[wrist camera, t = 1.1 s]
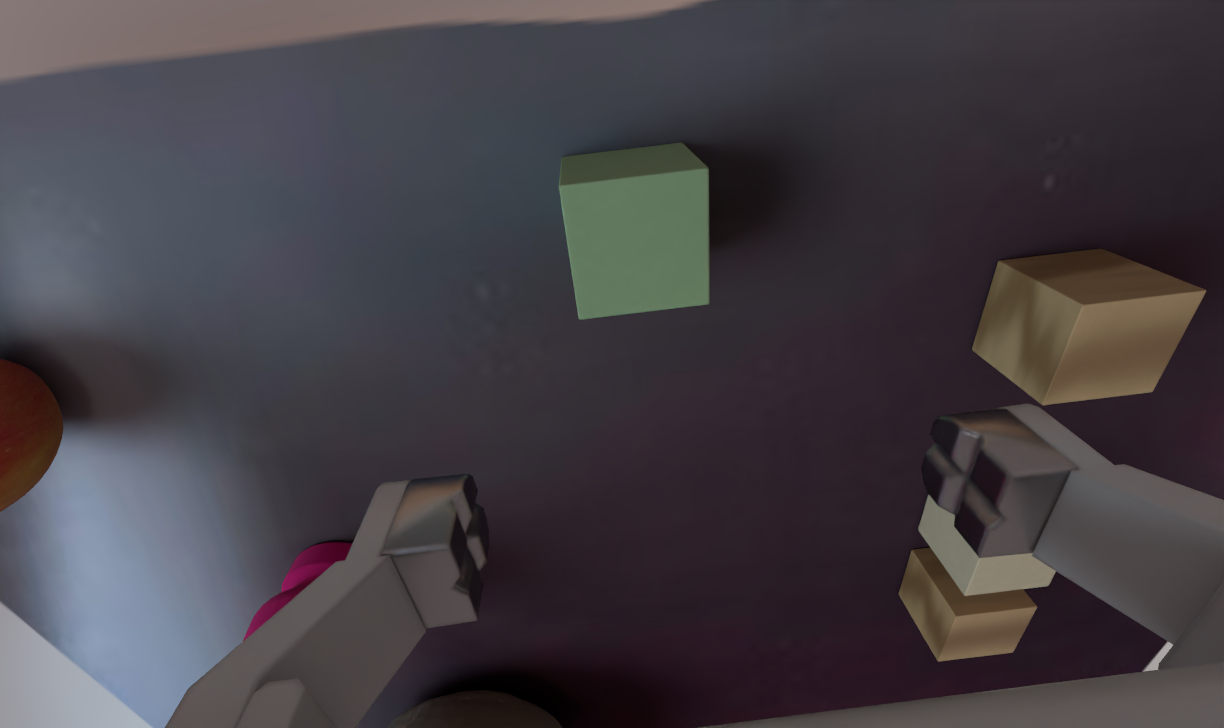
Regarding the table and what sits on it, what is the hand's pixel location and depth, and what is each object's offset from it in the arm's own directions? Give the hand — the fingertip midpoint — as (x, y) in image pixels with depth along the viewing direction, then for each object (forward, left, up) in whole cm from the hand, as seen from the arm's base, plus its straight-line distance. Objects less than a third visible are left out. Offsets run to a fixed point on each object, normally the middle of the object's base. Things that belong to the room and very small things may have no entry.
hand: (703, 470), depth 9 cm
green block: (0, 0, -16) cm, 16 cm away
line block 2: (+28, +20, -16) cm, 38 cm away
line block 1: (+21, +20, -16) cm, 33 cm away
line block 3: (+7, +20, -16) cm, 27 cm away
